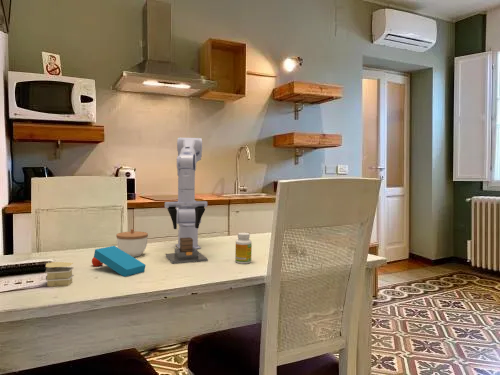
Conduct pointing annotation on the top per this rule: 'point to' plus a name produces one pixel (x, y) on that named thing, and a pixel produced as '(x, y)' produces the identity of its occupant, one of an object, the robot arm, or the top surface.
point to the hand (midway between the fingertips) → (186, 228)
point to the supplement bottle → (243, 248)
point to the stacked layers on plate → (59, 273)
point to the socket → (186, 256)
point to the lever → (118, 261)
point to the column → (186, 244)
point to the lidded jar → (132, 242)
